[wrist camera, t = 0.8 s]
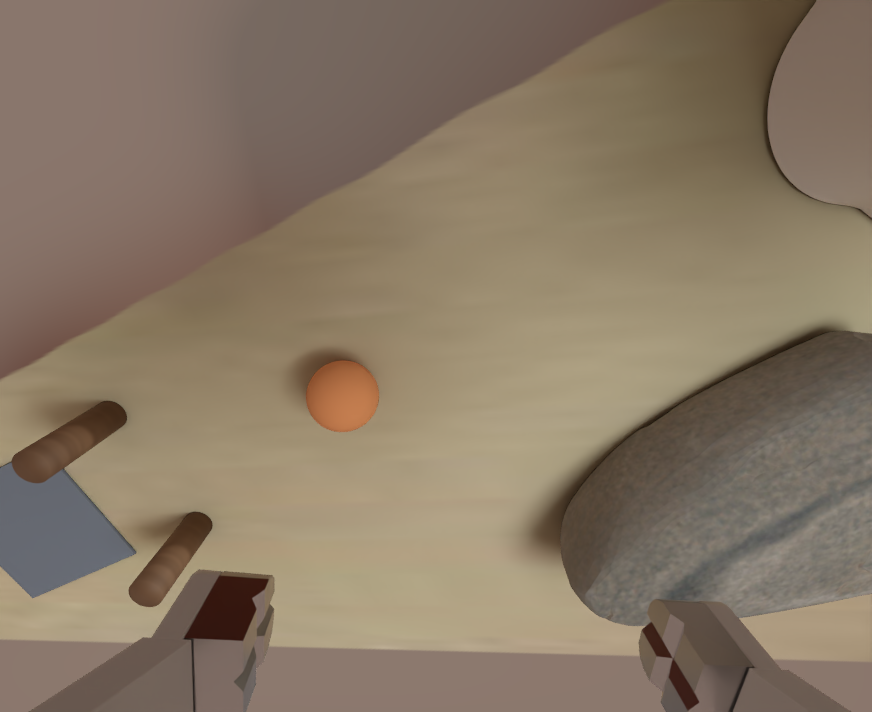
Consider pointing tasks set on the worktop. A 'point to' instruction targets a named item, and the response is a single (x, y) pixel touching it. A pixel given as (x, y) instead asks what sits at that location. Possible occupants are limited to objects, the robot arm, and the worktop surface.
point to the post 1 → (68, 442)
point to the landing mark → (53, 532)
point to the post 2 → (170, 560)
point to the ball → (342, 396)
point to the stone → (737, 494)
